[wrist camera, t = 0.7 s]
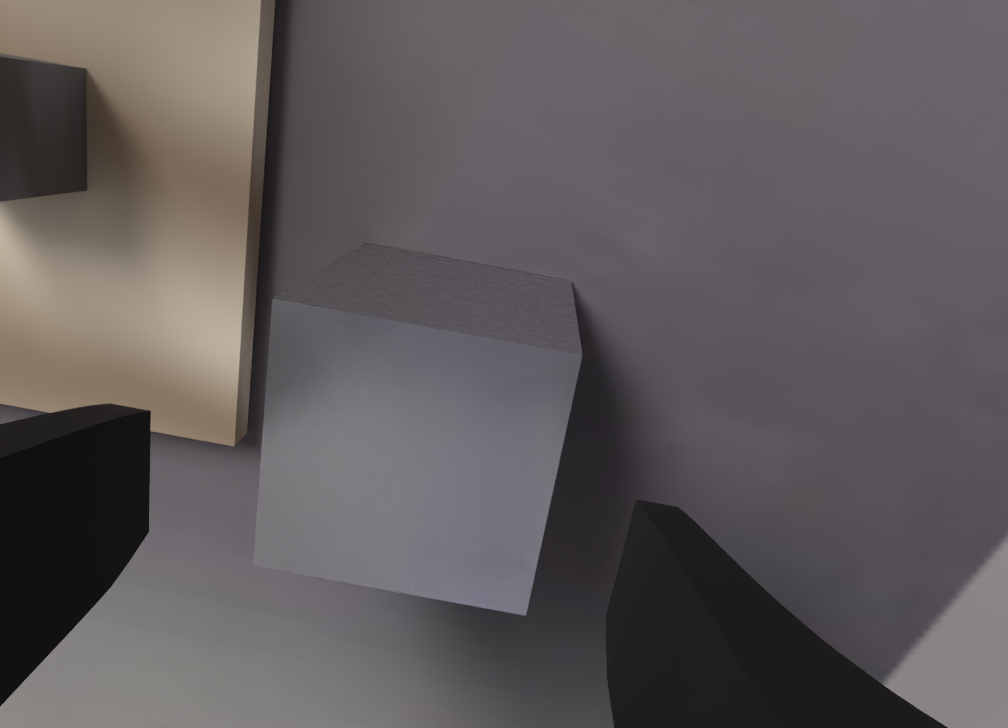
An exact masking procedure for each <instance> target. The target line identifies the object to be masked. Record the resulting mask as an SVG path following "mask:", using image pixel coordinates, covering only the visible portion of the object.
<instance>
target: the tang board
mask: <svg viewBox="0 0 1008 728" xmlns="http://www.w3.org/2000/svg"><path fill="white" fill-rule="evenodd" d="M274 13H275V0H0V404H5V405H11V406H16V407H21V408H27V409H32V410H38V411H43V412H49V413H53V412H58V411H62V410H67V409H72V408H78V407H84V406H90V405H98V404H109V403H111V404H116V405H121V406H127V407H132V408H138V409H143V410H149V411H151V426H150V431H153V432H158V433H164V434H169V435H174V436H180V437H185V438H191V439H196V440H202V441H207V442H213V443H218V444H224V445H229V446H235V445H236V444H237V443H238V442H239V441H240V440H241V439H242V438H243V437H244V436H245V435H246V434H247V426H248V411H249V396H250V380H251V365H252V350H253V334H254V319H255V304H256V289H257V273H258V258H259V243H260V227H261V212H262V197H263V181H264V166H265V151H266V135H267V120H268V105H269V89H270V74H271V59H272V44H273V28H274Z"/></svg>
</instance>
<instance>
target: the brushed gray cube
mask: <svg viewBox="0 0 1008 728" xmlns="http://www.w3.org/2000/svg"><path fill="white" fill-rule="evenodd" d="M581 359H582V349H581V342H580V335H579V329H578V322H577V315H576V309H575V302H574V296H573V289H572V282H571V281H570V280H564V279H559V278H553V277H548V276H542V275H537V274H531V273H526V272H520V271H515V270H509V269H504V268H498V267H493V266H487V265H482V264H476V263H471V262H465V261H460V260H454V259H449V258H443V257H438V256H432V255H427V254H421V253H416V252H410V251H405V250H399V249H394V248H388V247H383V246H377V245H372V244H366V243H363V244H362V245H360V246H359V247H357V248H355V249H354V250H352V251H350V252H349V253H347V254H345V255H344V256H342V257H340V258H339V259H337V260H335V261H334V262H332V263H330V264H329V265H327V266H325V267H324V268H322V269H320V270H319V271H317V272H316V273H314V274H312V275H311V276H309V277H307V278H306V279H304V280H302V281H301V282H299V283H297V284H296V285H294V286H292V287H291V288H289V289H287V290H286V291H284V292H282V293H281V294H279V295H277V296H276V297H274V298H273V299H272V313H271V326H270V340H269V354H268V368H267V381H266V395H265V409H264V423H263V436H262V450H261V464H260V478H259V491H258V505H257V519H256V532H255V546H254V560H253V566H258V567H263V568H268V569H274V570H279V571H285V572H290V573H296V574H301V575H307V576H312V577H317V578H323V579H328V580H334V581H339V582H345V583H350V584H356V585H361V586H366V587H372V588H377V589H383V590H388V591H394V592H399V593H405V594H410V595H415V596H421V597H426V598H432V599H437V600H443V601H448V602H454V603H459V604H465V605H470V606H475V607H481V608H486V609H492V610H497V611H503V612H508V613H514V614H519V615H524V616H526V613H527V609H528V604H529V600H530V595H531V590H532V586H533V581H534V577H535V572H536V567H537V563H538V558H539V553H540V549H541V544H542V540H543V535H544V530H545V526H546V521H547V516H548V512H549V507H550V503H551V498H552V493H553V489H554V484H555V480H556V475H557V470H558V466H559V461H560V456H561V452H562V447H563V443H564V438H565V433H566V429H567V424H568V420H569V415H570V410H571V406H572V401H573V396H574V392H575V387H576V383H577V378H578V373H579V369H580V364H581Z"/></svg>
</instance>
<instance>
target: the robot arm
mask: <svg viewBox="0 0 1008 728" xmlns="http://www.w3.org/2000/svg"><path fill="white" fill-rule="evenodd" d="M150 426H151V411H149V410H143V409H138V408H132V407H127V406H121V405H116V404H111V403H109V404H98V405H90V406H84V407H78V408H72V409H67V410H62V411H58V412H53V413H48V414H44V415H39V416H35V417H30V418H26V419H22V420H17V421H13V422H9V423H4V424H0V706H1V705H2V704H3V703H4V702H5V701H6V700H7V698H8V697H9V696H10V695H11V694H12V693H13V692H14V691H15V690H16V689H17V688H18V687H19V686H20V685H21V684H22V682H23V681H24V680H25V679H26V678H27V677H28V676H29V675H30V674H31V673H32V672H33V671H34V670H35V669H36V668H37V666H38V665H39V664H40V663H41V662H42V661H43V660H44V659H45V658H46V657H47V656H48V655H49V654H50V653H51V652H52V650H53V649H54V648H55V647H56V646H57V645H58V644H59V643H60V642H61V641H62V640H63V639H64V638H65V637H66V636H67V634H68V633H69V632H70V631H71V630H72V629H73V628H74V627H75V626H76V625H77V624H78V623H79V621H80V620H81V619H82V618H83V617H84V616H85V615H86V614H87V613H88V612H89V611H90V609H91V608H92V607H93V606H94V605H95V604H96V603H97V602H98V601H99V600H100V598H101V597H102V596H103V595H104V594H105V593H106V592H107V591H108V589H109V588H110V587H111V586H112V584H113V583H114V582H115V580H116V579H117V578H118V576H119V575H120V573H121V572H122V571H123V569H124V568H125V567H126V565H127V564H128V562H129V561H130V559H131V558H132V556H133V555H134V553H135V552H136V550H137V549H138V547H139V546H140V544H141V543H142V541H143V540H144V538H145V537H146V535H147V534H148V532H149V485H150ZM606 650H607V679H608V687H609V694H610V701H611V707H612V714H613V721H614V727H615V728H947V727H946V726H944V725H943V724H941V723H940V722H938V721H936V720H935V719H933V718H932V717H930V716H928V715H927V714H925V713H923V712H922V711H920V710H919V709H917V708H916V707H914V706H913V705H911V704H910V703H908V702H907V701H905V700H904V699H902V698H901V697H900V696H898V695H896V694H895V693H894V692H892V691H891V690H889V689H888V688H886V687H885V686H884V685H882V684H881V683H879V682H878V681H877V680H875V679H874V678H873V677H871V676H870V675H869V674H867V673H866V672H865V671H863V670H862V669H860V668H859V667H858V666H856V665H855V664H854V663H852V662H851V661H850V660H848V659H847V658H845V657H844V656H843V655H841V654H840V653H839V652H837V651H836V650H835V649H834V648H832V647H831V646H830V645H829V644H827V643H826V642H825V641H824V640H822V639H821V638H820V637H819V636H817V635H816V634H815V633H814V632H813V631H811V630H810V629H809V628H808V627H807V626H806V625H804V624H803V623H802V622H801V621H800V620H799V619H797V618H796V617H795V616H794V615H793V614H792V613H790V612H789V611H788V610H787V609H786V608H785V607H783V606H782V605H781V604H780V603H779V602H778V601H777V600H776V599H774V598H773V597H772V596H771V595H770V594H769V593H768V592H767V591H766V590H765V589H764V588H762V587H761V586H760V585H759V584H758V583H757V582H756V581H755V580H754V579H753V578H752V577H751V576H750V575H749V574H748V573H747V572H746V571H745V570H743V569H742V568H741V567H740V566H739V565H738V564H737V563H736V562H735V561H734V560H733V559H732V558H731V557H730V556H729V555H728V554H727V553H726V552H725V551H724V550H723V549H722V548H721V547H720V546H719V545H718V544H717V543H716V542H715V541H714V540H713V539H712V538H711V537H710V536H709V535H708V534H707V533H706V532H705V531H704V530H703V529H702V528H701V527H700V526H699V525H698V524H697V523H696V522H694V521H693V520H692V519H691V518H690V517H689V516H688V515H687V514H686V513H685V512H683V511H682V510H681V509H679V508H678V507H674V506H669V505H663V504H658V503H652V502H647V501H641V500H636V503H635V507H634V511H633V514H632V518H631V522H630V526H629V530H628V534H627V538H626V541H625V545H624V549H623V553H622V557H621V561H620V564H619V568H618V572H617V576H616V580H615V584H614V588H613V591H612V595H611V599H610V603H609V607H608V611H607V615H606Z"/></svg>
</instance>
